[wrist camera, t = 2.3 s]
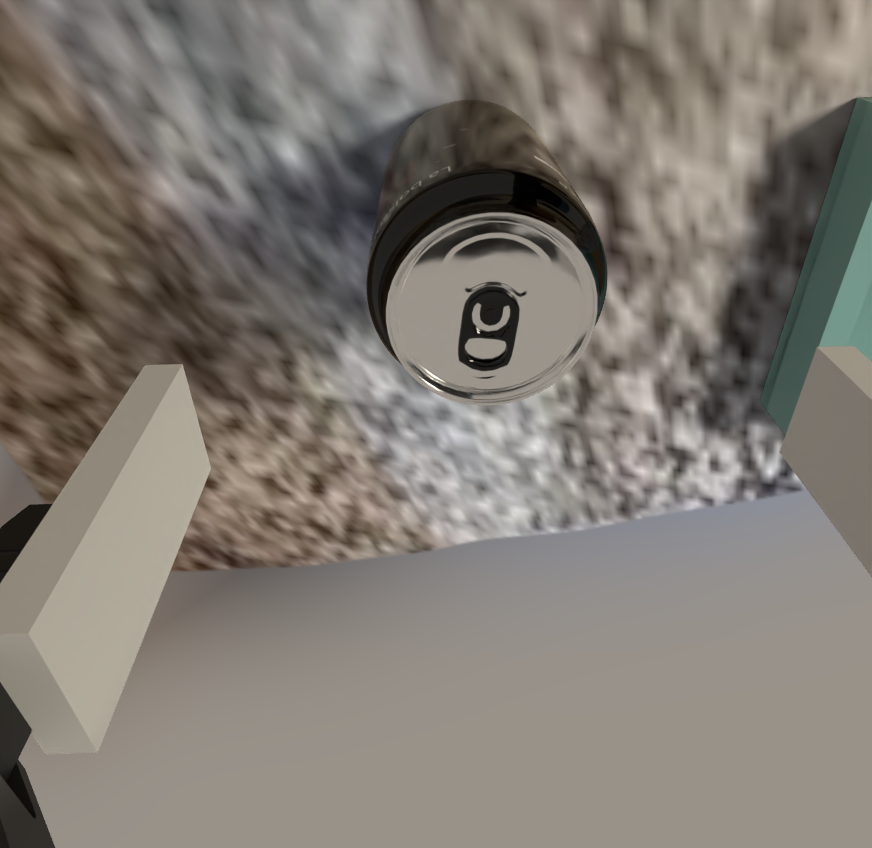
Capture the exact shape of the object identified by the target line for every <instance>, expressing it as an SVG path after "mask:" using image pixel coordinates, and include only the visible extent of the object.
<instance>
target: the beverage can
mask: <svg viewBox="0 0 872 848" xmlns="http://www.w3.org/2000/svg"><path fill="white" fill-rule="evenodd" d="M606 289H607V263H606V256H605V251H604V247H603V244H602V241H601V238H600V236H599V233H598V231H597V229H596V226H595V224H594V222H593V220H592V218H591V216H590V214H589V212H588V211H587V209H586V208H585V206H584V205H583V203H582V201H581V200H580V198H579V197H578V195H577V194H576V192H575V191H574V189H573V187H572V186H571V184H570V183H569V181H568V180H567V178H566V176H565V175H564V173H563V172H562V170H561V169H560V167H559V166H558V164H557V162H556V161H555V159H554V158H553V156H552V155H551V153H550V151H549V150H548V148H547V147H546V146H545V144H544V143H543V141H542V140H541V139H540V137H539V136H538V134H537V133H536V132H535V131H534V130H533V128H532V127H531V126H530V125H529V124H528V123H527V122H526V121H525V120H524V119H522V118H521V117H520V116H519V115H517V114H516V113H514V112H512V111H511V110H509V109H507V108H505V107H503V106H500V105H498V104H494V103H491V102H487V101H480V100H460V101H454V102H450V103H446V104H443V105H440V106H438V107H435V108H433V109H431V110H429V111H428V112H426V113H424V114H423V115H421V116H420V117H419V118H417V119H416V120H415V121H414V122H412V123H411V124H410V125H409V126H408V127H407V128H406V130H405V131H404V132H403V133H402V134H401V136H400V137H399V139H398V140H397V142H396V143H395V145H394V147H393V149H392V151H391V153H390V155H389V158H388V160H387V163H386V167H385V170H384V174H383V179H382V183H381V188H380V194H379V200H378V205H377V211H376V217H375V223H374V229H373V234H372V240H371V246H370V252H369V258H368V264H367V300H368V306H369V311H370V315H371V318H372V321H373V324H374V327H375V329H376V331H377V333H378V335H379V337H380V339H381V341H382V342H383V344H384V345H385V347H386V348H387V349H388V351H389V352H390V353H391V354H392V356H393V357H394V358H395V359H396V360H397V361H398V362H399V363H400V364H401V365H402V366H403V367H404V368H405V369H406V370H407V371H408V373H409V374H410V375H411V376H412V377H413V378H414V379H416V380H417V381H418V382H419V383H420V384H421V385H423V386H424V387H426V388H427V389H429V390H430V391H432V392H434V393H436V394H438V395H440V396H442V397H445V398H447V399H450V400H453V401H457V402H461V403H465V404H473V405H498V404H506V403H511V402H515V401H519V400H522V399H525V398H528V397H530V396H532V395H535V394H537V393H539V392H541V391H543V390H544V389H546V388H548V387H550V386H551V385H552V384H554V383H555V382H556V381H558V380H559V379H561V378H562V377H563V376H564V375H565V374H566V373H567V372H568V371H569V370H570V369H571V368H572V367H573V366H574V364H575V363H576V362H577V361H578V360H579V358H580V356H581V355H582V353H583V352H584V350H585V349H586V347H587V345H588V343H589V341H590V339H591V336H592V333H593V330H594V327H595V325H596V323H597V321H598V319H599V316H600V314H601V311H602V308H603V304H604V300H605V296H606Z"/></svg>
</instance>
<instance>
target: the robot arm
mask: <svg viewBox="0 0 872 848" xmlns="http://www.w3.org/2000/svg"><path fill="white" fill-rule="evenodd" d="M780 453H781V455H782V456H783V457H784V459H785V460H786V461H787V463H788V464H789V466H790V467H791V468H792V470H793V471H794V472H795V474H796V475H797V476H798V478H799V479H800V480H801V482H802V483H803V484H804V486H805V487H806V489H807V490H808V491H809V493H810V494H811V495H812V497H813V498H814V499H815V501H816V502H817V503H818V505H819V506H820V507H821V509H822V510H823V512H824V513H825V514H826V515H827V517H828V518H829V520H830V521H831V522H832V524H833V525H834V526H835V528H836V529H837V531H838V532H839V533H840V535H841V536H842V537H843V539H844V540H845V541H846V543H847V544H848V545H849V547H850V548H851V550H852V551H853V552H854V554H855V555H856V556H857V558H858V559H859V560H860V562H861V563H862V564H863V566H864V567H865V569H866V570H867V571H868V573H869V574H870V575H871V577H872V362H871V361H870V360H869V359H868V358H867V357H866V356H865V355H863V354H862V353H861V352H860V351H859V350H858V349H857V348H856V347H854V346H828V347H817V348H816V351H815V354H814V357H813V360H812V362H811V365H810V368H809V371H808V374H807V376H806V379H805V382H804V385H803V388H802V391H801V393H800V396H799V399H798V402H797V405H796V407H795V410H794V413H793V416H792V419H791V421H790V424H789V427H788V430H787V433H786V436H785V438H784V441H783V444H782V447H781V450H780ZM210 470H211V467H210V463H209V459H208V456H207V452H206V448H205V445H204V441H203V437H202V434H201V430H200V426H199V423H198V419H197V415H196V412H195V408H194V404H193V401H192V397H191V393H190V390H189V386H188V382H187V379H186V375H185V371H184V368H183V364H168V365H145V366H144V367H143V369H142V371H141V372H140V374H139V375H138V377H137V378H136V380H135V381H134V383H133V384H132V386H131V387H130V389H129V390H128V392H127V393H126V395H125V396H124V398H123V399H122V401H121V402H120V404H119V405H118V407H117V408H116V410H115V411H114V413H113V414H112V416H111V417H110V419H109V420H108V422H107V423H106V425H105V426H104V428H103V429H102V431H101V432H100V434H99V435H98V437H97V438H96V440H95V441H94V443H93V444H92V446H91V447H90V449H89V450H88V452H87V453H86V455H85V456H84V458H83V459H82V461H81V462H80V464H79V466H78V467H77V469H76V470H75V472H74V473H73V475H72V476H71V478H70V479H69V481H68V482H67V484H66V485H65V487H64V488H63V490H62V491H61V493H60V494H59V496H58V497H57V499H56V500H55V502H54V503H53V504H38V505H29V506H27V507H26V508H25V509H24V510H22V511H21V512H20V513H18V514H17V515H16V516H15V517H13V518H12V519H11V520H9V521H8V522H7V523H6V524H4V525H3V526H2V527H1V528H0V848H55V846H54V844H53V841H52V838H51V836H50V833H49V831H48V828H47V825H46V823H45V820H44V817H43V815H42V812H41V810H40V807H39V804H38V802H37V799H36V796H35V794H34V791H33V789H32V786H31V784H30V781H29V778H28V775H27V773H26V771H25V768H24V767H23V766H22V764H21V763H20V762H19V760H18V758H19V756H20V754H21V752H22V750H23V748H24V746H25V744H26V741H27V740H28V738H29V735H30V734H32V735H33V737H34V738H35V739H36V741H37V742H38V744H39V746H40V747H41V748H42V750H43V751H44V753H45V754H65V753H96V752H98V750H99V748H100V745H101V743H102V740H103V738H104V735H105V733H106V730H107V727H108V725H109V723H110V720H111V718H112V715H113V713H114V710H115V708H116V705H117V703H118V700H119V698H120V695H121V692H122V690H123V687H124V685H125V683H126V680H127V677H128V675H129V672H130V670H131V668H132V665H133V663H134V660H135V657H136V655H137V652H138V650H139V648H140V645H141V643H142V640H143V637H144V635H145V632H146V630H147V628H148V625H149V623H150V620H151V617H152V615H153V612H154V610H155V608H156V605H157V603H158V600H159V597H160V595H161V593H162V590H163V587H164V585H165V583H166V580H167V578H168V575H169V573H170V570H171V568H172V565H173V562H174V560H175V557H176V555H177V552H178V550H179V547H180V545H181V542H182V540H183V537H184V535H185V532H186V530H187V527H188V525H189V522H190V520H191V517H192V515H193V512H194V510H195V507H196V505H197V502H198V500H199V497H200V495H201V492H202V490H203V487H204V485H205V482H206V480H207V477H208V475H209V472H210Z"/></svg>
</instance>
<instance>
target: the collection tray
mask: <svg viewBox="0 0 872 848" xmlns="http://www.w3.org/2000/svg"><path fill="white" fill-rule="evenodd" d="M828 346H854V347H856V348H857V349H858V350H859V351H860V352H861V353H862V354H863V355H865V356H866V357H867V358H868V359H869V360H870V361H871V362H872V97H862V98H857V100H856V103H855V106H854V109H853V112H852V115H851V118H850V121H849V124H848V128H847V131H846V134H845V137H844V140H843V143H842V146H841V149H840V152H839V156H838V159H837V162H836V165H835V168H834V171H833V174H832V177H831V180H830V184H829V187H828V190H827V193H826V196H825V199H824V202H823V205H822V208H821V212H820V215H819V218H818V221H817V224H816V227H815V230H814V233H813V236H812V240H811V243H810V246H809V249H808V252H807V255H806V258H805V261H804V265H803V268H802V271H801V274H800V277H799V280H798V283H797V286H796V289H795V293H794V296H793V299H792V302H791V305H790V308H789V311H788V314H787V317H786V321H785V324H784V327H783V330H782V333H781V336H780V339H779V342H778V345H777V349H776V352H775V355H774V358H773V361H772V364H771V367H770V370H769V373H768V377H767V380H766V383H765V386H764V389H763V392H762V395H761V398H760V402H761V404H762V405H763V406H764V408H765V409H766V410H767V412H768V413H769V414H770V416H771V417H772V418H773V420H774V421H775V422H776V424H777V425H778V426H779V428H780V429H781V430H782V432H783V433H784V434H785V436H786V433H787V430H788V427H789V424H790V421H791V419H792V416H793V413H794V410H795V407H796V405H797V402H798V399H799V396H800V393H801V391H802V388H803V385H804V382H805V379H806V376H807V374H808V371H809V368H810V365H811V362H812V360H813V357H814V354H815V351H816V348H817V347H828Z"/></svg>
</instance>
